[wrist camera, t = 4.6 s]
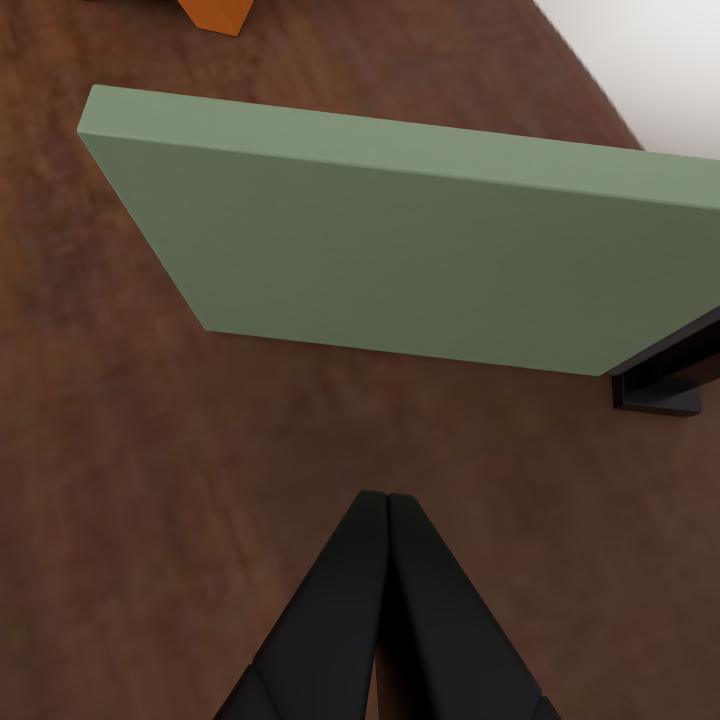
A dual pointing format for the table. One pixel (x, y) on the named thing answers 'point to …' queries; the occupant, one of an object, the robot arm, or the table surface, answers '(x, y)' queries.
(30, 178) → the table surface
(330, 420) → the table surface
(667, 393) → the door post
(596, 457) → the table surface
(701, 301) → the green flat slab
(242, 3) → the alarm clock
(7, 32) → the table surface
